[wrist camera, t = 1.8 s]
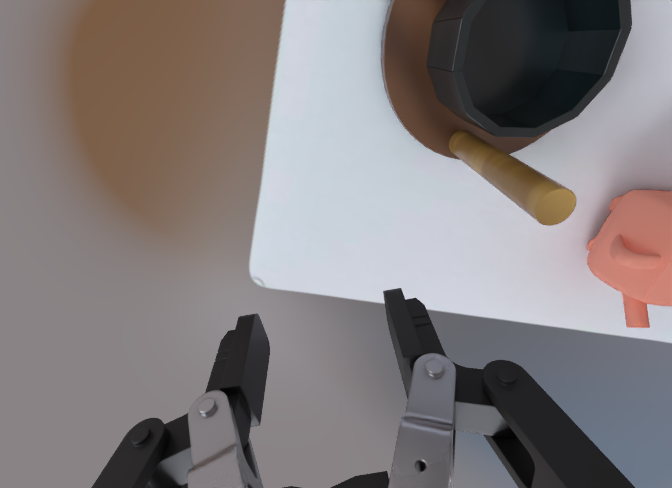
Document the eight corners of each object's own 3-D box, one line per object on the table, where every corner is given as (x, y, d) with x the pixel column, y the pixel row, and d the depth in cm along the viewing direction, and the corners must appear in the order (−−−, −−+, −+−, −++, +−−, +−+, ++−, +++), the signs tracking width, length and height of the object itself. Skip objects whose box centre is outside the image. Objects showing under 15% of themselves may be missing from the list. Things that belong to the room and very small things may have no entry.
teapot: (688, 248, 41) (791, 304, 32) (586, 293, 43) (655, 357, 35) (679, 143, 34) (804, 178, 26) (559, 204, 37) (635, 254, 28)
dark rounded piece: (490, -177, 22) (754, -499, 9) (650, 6, 28) (958, -24, 15) (338, 85, 29) (359, 123, 16) (490, 190, 35) (598, 281, 22)
